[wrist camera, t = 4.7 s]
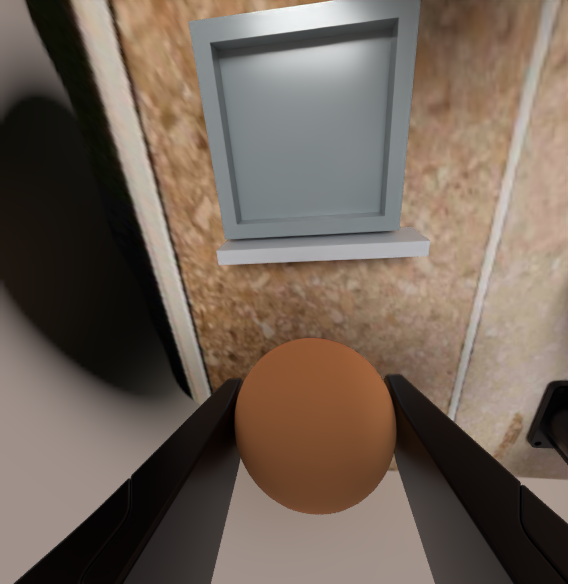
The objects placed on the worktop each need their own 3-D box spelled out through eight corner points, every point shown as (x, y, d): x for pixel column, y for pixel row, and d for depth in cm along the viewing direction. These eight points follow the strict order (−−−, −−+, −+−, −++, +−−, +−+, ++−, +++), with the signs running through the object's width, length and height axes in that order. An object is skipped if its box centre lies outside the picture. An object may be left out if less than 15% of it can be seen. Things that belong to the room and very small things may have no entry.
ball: (374, 409, 10) (412, 556, 6) (259, 410, 10) (233, 549, 7) (379, 306, 8) (435, 429, 5) (240, 313, 9) (191, 431, 5)
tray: (391, 222, 17) (399, 230, 15) (232, 231, 18) (225, 239, 17) (408, 8, 13) (421, -13, 11) (202, 36, 14) (188, 21, 12)
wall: (410, 239, 17) (427, 256, 15) (232, 248, 19) (219, 265, 16) (411, 226, 17) (430, 240, 14) (230, 236, 18) (216, 251, 16)
